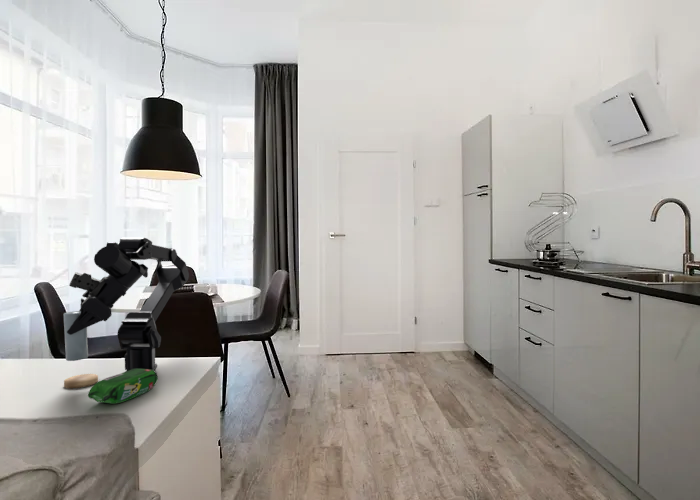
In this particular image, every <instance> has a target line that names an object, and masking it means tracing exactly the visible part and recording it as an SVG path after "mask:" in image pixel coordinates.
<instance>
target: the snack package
mask: <svg viewBox="0 0 700 500" xmlns="http://www.w3.org/2000/svg"><path fill="white" fill-rule="evenodd" d="M125 371H126V372H125ZM125 371H124V372H121V373H119V374H115V375H112V376H109V377H106V378H103V379H101V380H98V382H97V383H95V384H93V385H92V386H91V388H90V390H89V391H88V393H87V397H88V398H89V399H91V400H92V399H93V401H94V400H95V401H96V402H97V403H103V404H104V403H105V404H106V403H107V404H112V405H115V404H116V405H117V404H120V403H123V402H127V401H130V400H131V399H134V398H136V397H139V396H141V395H143V394H146V393H148V392H149V391H150V390H152V389H153V388H154V387H155V386H156V384H157V382H158V381H159V376H158V374H157V373H158V372H156V371H155V370H150V369H138V368H137V369H132V370H129V371H127V370H125Z"/></svg>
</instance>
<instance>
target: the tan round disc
mask: <svg viewBox="0 0 700 500" xmlns="http://www.w3.org/2000/svg"><path fill="white" fill-rule="evenodd" d="M97 382H99V376H98V374H97V373H84V374H83V373H82V374H77V375H73V376H70V377H67V378H66V379H64V380H63V388H65V389H72V390H73V388H75V389H81V387H83V388H87V387H89V386H90V385H91V386H94V385H95V384H96V383H97Z"/></svg>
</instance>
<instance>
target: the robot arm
mask: <svg viewBox="0 0 700 500" xmlns="http://www.w3.org/2000/svg"><path fill="white" fill-rule="evenodd" d="M105 245H106V246H103V247H101V248H100V249H99V250H98V251H97V252H96V253H95V254H94V257H93V258H94V259H93V261H94V265H96V266H97V267H98V268H100V269H101V270H102V271H103V272H105V273H106V274H108V275H107V276H104V277H102V278H101V279H98V278H95V277H93V276H92V274H89V273H86V272H83V273H80V272H74V274H73V277H72V278H71V280H70V283H69V285H68V286H69V287H71V288H73V289H74V288H75V289H76V288H77V289H80V290H84V291H85V292H84V293H83V294H82V297H81V298H80V309H79V310H78V311H81V313H80V314H79V316H78V317H77V318H76V320H75V321H74V322H73V324H72V325H71V327H70V328H69V329H68V331H67V333H68V334H70V335H72V334H74V333H76V332H78V331H80V330H82V329H84V328H87V329H88V328H89V327H90V326H93V325H96V324H98V323H100V322H107V321H108V319H110V318H111V317H112V314H113V313H112V309H113V308H114V304H115V303H117V302H118V301H119V299H121V298H122V297H124V296H125V295H126V294H127V292H128V291H129V289H131V288H132V286H133V285H134V284H136V283H137V282H138V280H139V279H141V277H143V278H148V275H149V272H148V270H149V267H148V266H147V265H145V264H144V263H141V264H139V262H137V261H141V260H144V261H145V260H152V261H153V260H154V261H156V262H157V263H156V267H155V269H154V270H155V273H156V275H157V280H158V283H157V285H156V286H155V288H154V289H153V291H152V292H151V294H150V295H149V297H147V300H146V301H145V302H144V304H143V305H142V306H141V308H140V310H139V311H133V312H132V311H130V312H128V313H127V314H126V315H125V317H124V319H122V321H121V324H120V326H119V328H118V329H117V341H118V343H119V346H120V347H119V348H120V349H121V350H126V353H125V354H124V370H125V371H124V372H126V371H129V370H132V369H137V368H138V369H150V370H153V371H155V369H156V368H157V366H158V364H157V363H156V349H157V348H160V346H161V342H162V336H161V335H160V333H159V332H158V330H157V325H156V321H157V320H158V318H159V316H160V315H161V313H162V312H163V310H164V308H165V307H166V305H167V303H168V301H169V300H170V298H171V297H172V295H173V293H174V292H175V291H177V290H179V289H182V288H183V287H184V286H185V284H186V283H187V282H188V281H189V279H190V272H189V269H188V267H187V264H186V262H185V261H184V260H183V258H181V257H180V256H178V253H177V250H176V249H175V248H172V247H170V248H169V247H164V246H160V245H156V244H153V241H152V240H150V239H148V238H147V237H121V238H120V239H119V242H116V241H108V242H106V244H105ZM162 262H171V263H172V266H171V265H168V266H167V265H165V266H163V265H162ZM84 298H85V299H84Z"/></svg>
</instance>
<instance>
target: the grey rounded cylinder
mask: <svg viewBox="0 0 700 500" xmlns="http://www.w3.org/2000/svg"><path fill="white" fill-rule="evenodd" d="M80 313H81V311H79V310H73V311H67V312H63V326H64V329H63V330H64V344H65V345H64V346H65V349H64V350H65V360H66V361H68V362H75V361H81V360H85V359H87V358H88V357H89V348H88V346H89V344H88V327H87V328H84V329H82V330H80V331H78V332H76V333H74V334H72V335H70V334H68V333H67V331H68V329H69V328H70V327H71V325H72V324H73V322H74V321H75V320H76V318H77V317H78V316H79V314H80Z"/></svg>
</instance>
